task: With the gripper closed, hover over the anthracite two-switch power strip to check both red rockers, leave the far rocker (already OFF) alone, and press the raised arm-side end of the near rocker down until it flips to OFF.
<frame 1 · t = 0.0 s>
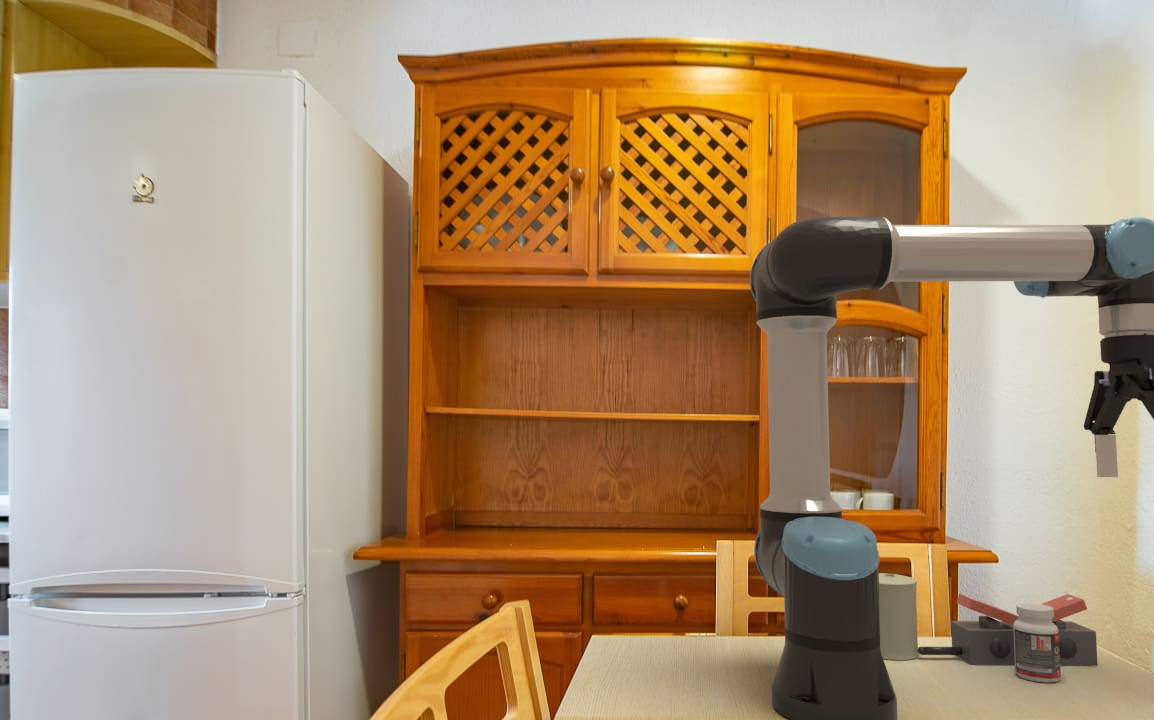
hand: (1138, 480, 116), 28 cm above the table, fingers open, 13 cm apart
pill bottle: (1037, 678, 114), on the table
can: (887, 653, 126), on the table
rocker 1: (988, 609, 123), point 7 cm above the table, hinge at 20.0°
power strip: (1023, 659, 122), on the table
rocker 2: (1053, 610, 123), point 7 cm above the table, hinge at -20.0°
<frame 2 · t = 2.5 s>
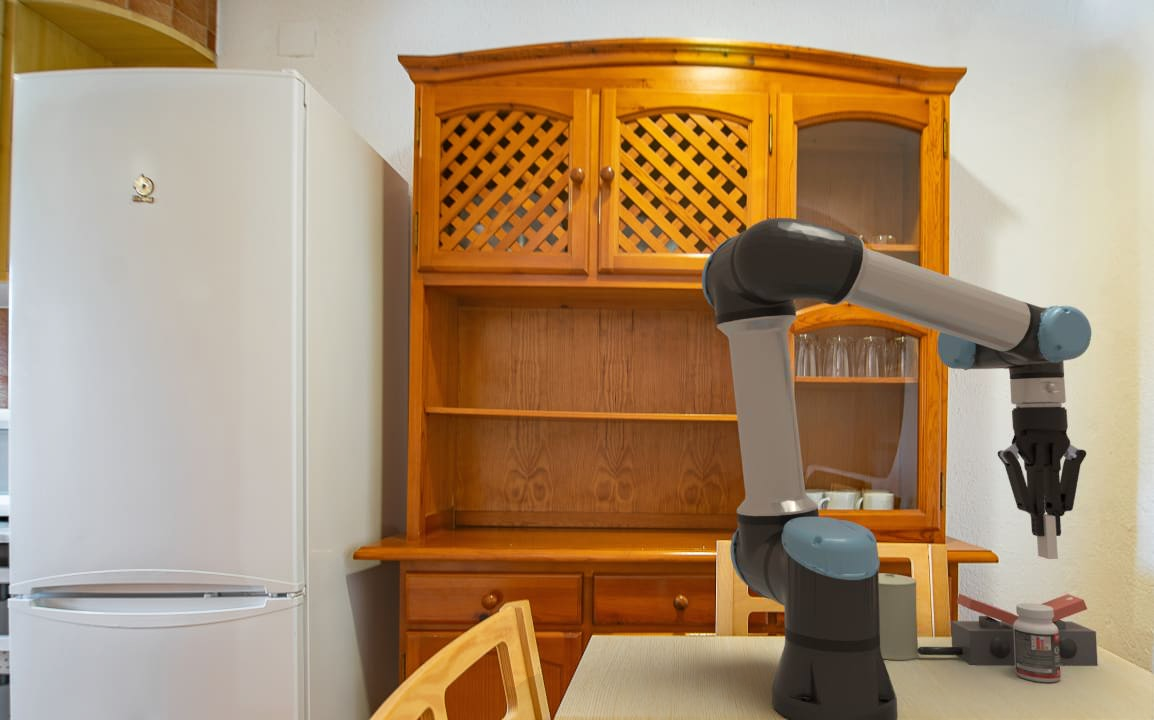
hand: (1047, 557, 124), 15 cm above the table, fingers closed
nothing on the table moved.
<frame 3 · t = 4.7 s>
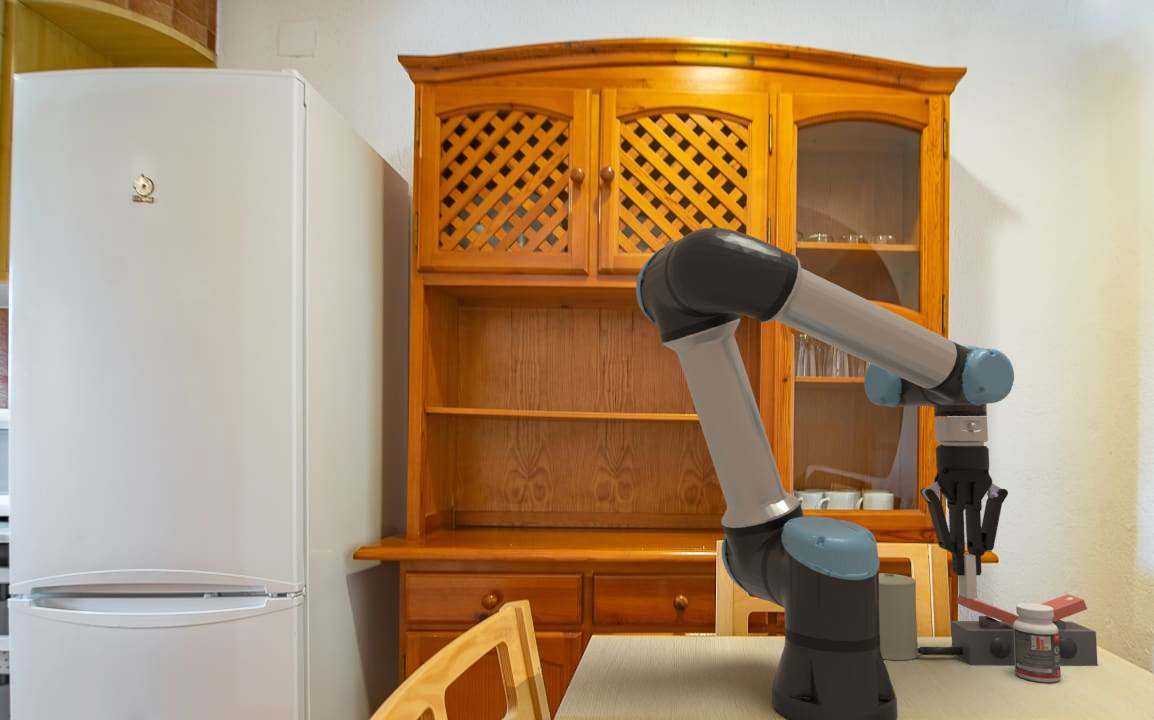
hand: (968, 596, 123), 9 cm above the table, fingers closed
rocker 1: (988, 609, 123), point 7 cm above the table, hinge at 19.9°, touching gripper
everything else where it was.
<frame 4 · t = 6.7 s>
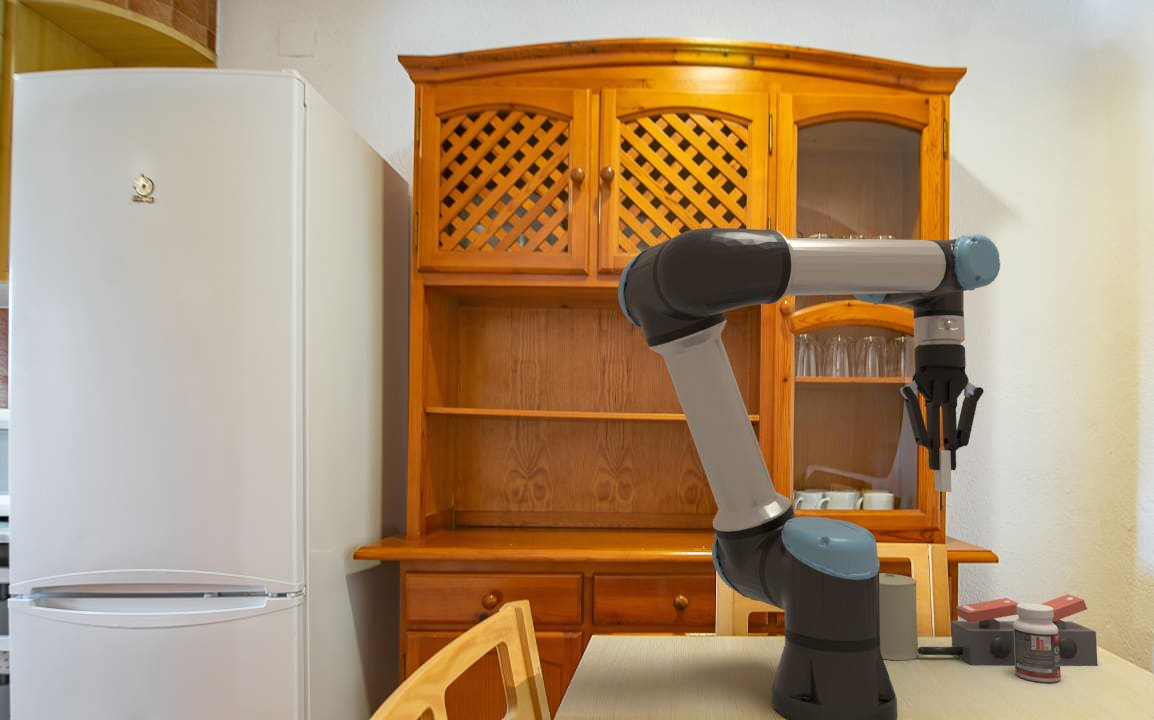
hand: (943, 490, 127), 25 cm above the table, fingers closed
rocker 1: (988, 609, 123), point 7 cm above the table, hinge at -9.9°
everything else where it was.
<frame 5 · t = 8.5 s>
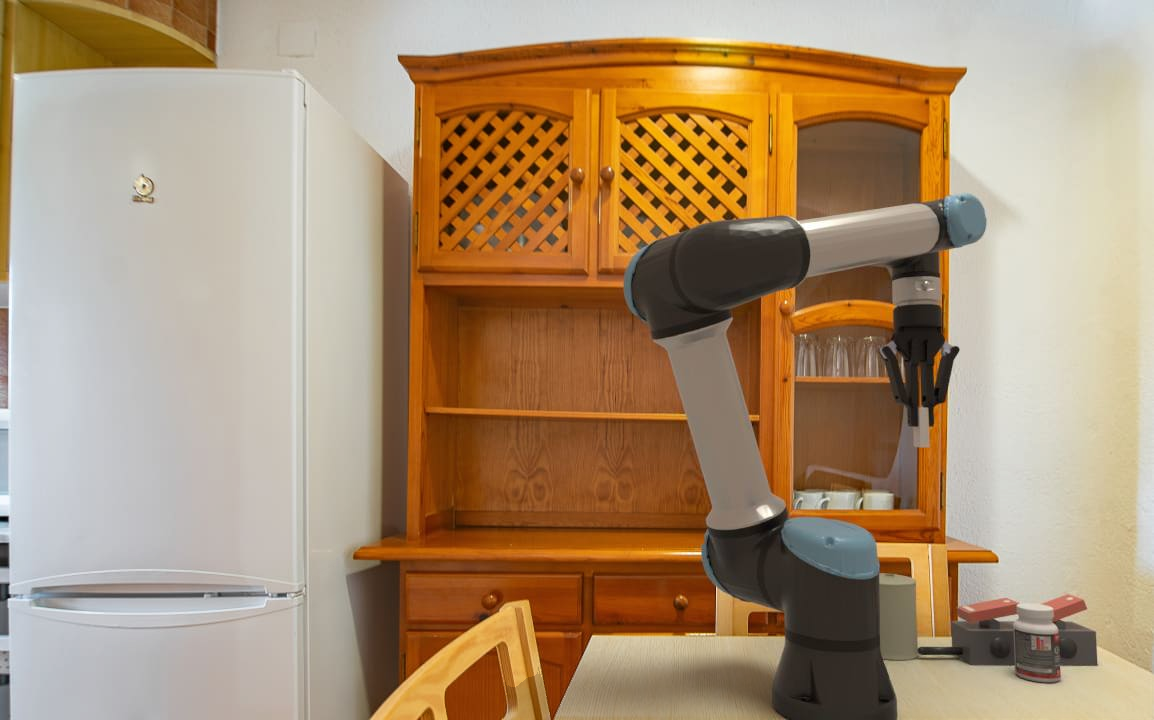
hand: (921, 446, 131), 32 cm above the table, fingers closed
rocker 1: (988, 609, 123), point 7 cm above the table, hinge at -10.8°
everything else where it was.
at the end: rocker 1 at -11° (first picture: +20°); rocker 2 at -20° (first picture: -20°) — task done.
